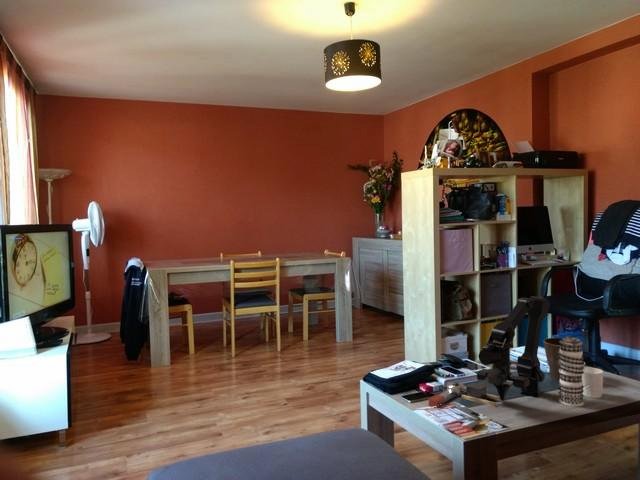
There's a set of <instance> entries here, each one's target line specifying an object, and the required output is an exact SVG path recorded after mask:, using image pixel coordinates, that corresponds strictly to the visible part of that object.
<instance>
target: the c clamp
mask: <svg viewBox="0 0 640 480" xmlns="http://www.w3.org/2000/svg"><path fill="white" fill-rule="evenodd" d="M510 362H511V365H510V370H516V371H517V366H516V365H517V361H515V360H511V361H510Z"/></svg>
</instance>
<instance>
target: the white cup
mask: <svg viewBox="0 0 640 480" xmlns="http://www.w3.org/2000/svg"><path fill="white" fill-rule="evenodd" d="M582 371H583V372H584V373H583V375H582V381H583V386H584V388H583V391H584V392H583V395H584V397H586V398H587V397H588V398H592V399H599V398H602V396H603V388H604V371H603V370H602V369H600V368H596V367H584V369H583V370H582Z"/></svg>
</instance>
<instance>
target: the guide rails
mask: <svg viewBox="0 0 640 480" xmlns="http://www.w3.org/2000/svg"><path fill="white" fill-rule="evenodd" d="M460 397H461V399H462V400H467V401H471V402H475V403H479V404H483V405H487V406H491V407H497V402H494V401H490V400H487V399H491V400H495V401H499V402H504V400H505V399H504V400H501V399H500V396H499V395H494V394H489V393H486V399H484V400H483V399H479V398H475V397H470V396H467V394H464V395H461V396H460Z"/></svg>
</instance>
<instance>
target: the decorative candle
mask: <svg viewBox="0 0 640 480" xmlns="http://www.w3.org/2000/svg"><path fill="white" fill-rule="evenodd" d="M562 338H563V339H562V340H560V341H559V342H560V351H558V354H559V355H558V358H559V360H558V362H559V364H558V366H559V372H560V379H559V383H558V386H559V387H558V389H559V391H558V399H559V400H558V402H559V403H561V404H562V405H565V406H568V407H576V408H577V407H582V406H583V405H584V401H585V399H584V397H585V396H584V395H583V392H584V391H583V388H584V386H583V381H582V375H583V373H584V372H583V371H582V370H583V369H584V368H585V367H584V366H583V365H585V362H584V361H585V358H584V356H583V344H584V343H583V341H581V340H580V339H579V338H578V337H575V336H564V337H562ZM560 356H561V357H560ZM560 365H561V366H560Z"/></svg>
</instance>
